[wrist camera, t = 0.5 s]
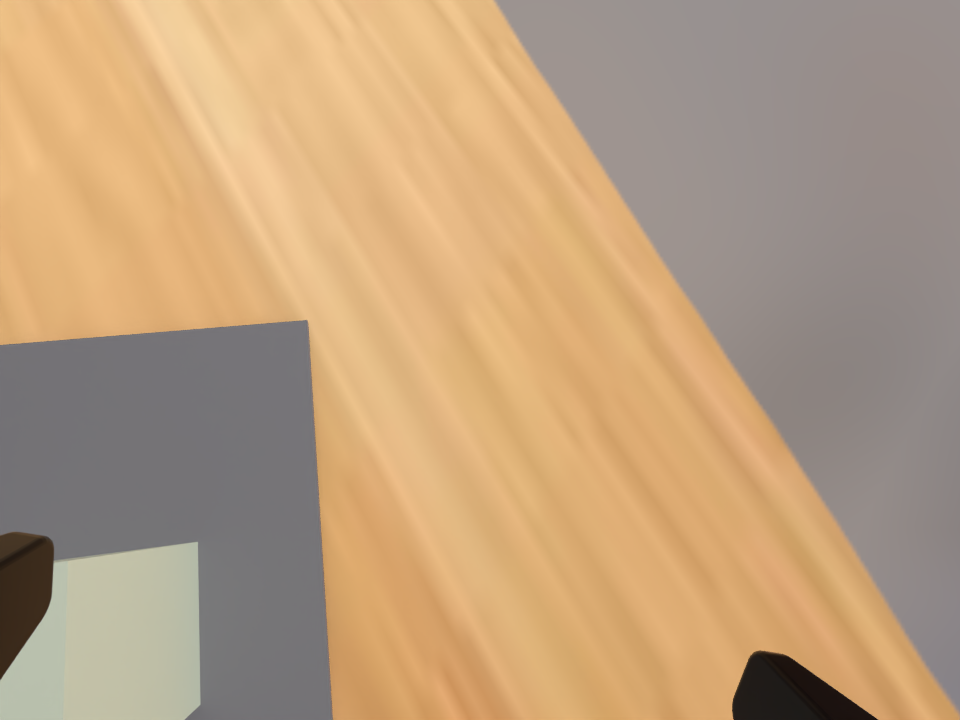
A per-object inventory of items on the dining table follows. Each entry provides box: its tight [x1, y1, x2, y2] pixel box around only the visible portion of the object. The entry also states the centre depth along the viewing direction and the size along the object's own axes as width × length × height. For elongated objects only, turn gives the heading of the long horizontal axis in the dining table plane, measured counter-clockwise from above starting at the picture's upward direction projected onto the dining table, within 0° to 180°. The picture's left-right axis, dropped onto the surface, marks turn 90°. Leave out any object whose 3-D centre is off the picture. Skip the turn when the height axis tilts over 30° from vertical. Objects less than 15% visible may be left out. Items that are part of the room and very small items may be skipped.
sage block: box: [0, 542, 200, 720], centre depth 15 cm, size 5×5×8 cm
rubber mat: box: [0, 320, 333, 720], centre depth 20 cm, size 14×13×1 cm
